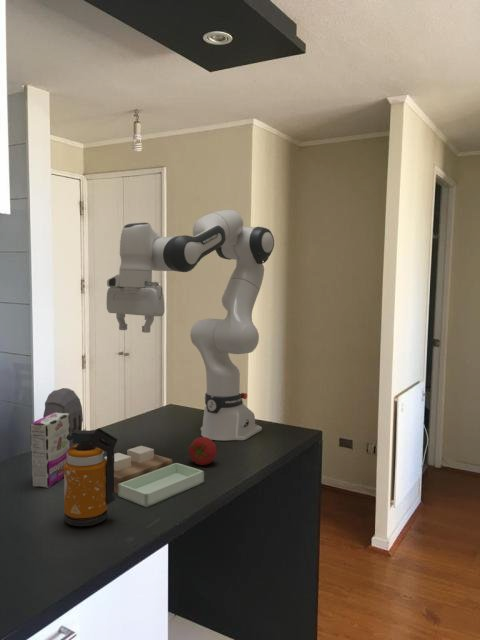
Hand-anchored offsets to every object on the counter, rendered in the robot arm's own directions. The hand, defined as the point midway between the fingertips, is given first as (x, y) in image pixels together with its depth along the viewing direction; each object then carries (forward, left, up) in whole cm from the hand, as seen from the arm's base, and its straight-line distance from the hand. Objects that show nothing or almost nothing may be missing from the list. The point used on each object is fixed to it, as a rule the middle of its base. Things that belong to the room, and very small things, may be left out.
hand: (134, 331), depth 151 cm
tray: (+8, +19, -38) cm, 43 cm away
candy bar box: (+22, -7, -38) cm, 44 cm away
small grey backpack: (+8, -21, -38) cm, 44 cm away
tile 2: (+4, +7, -34) cm, 35 cm away
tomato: (-12, +15, -38) cm, 43 cm away
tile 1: (+12, +7, -34) cm, 36 cm away
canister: (+30, +20, -38) cm, 52 cm away
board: (+8, +8, -38) cm, 39 cm away
